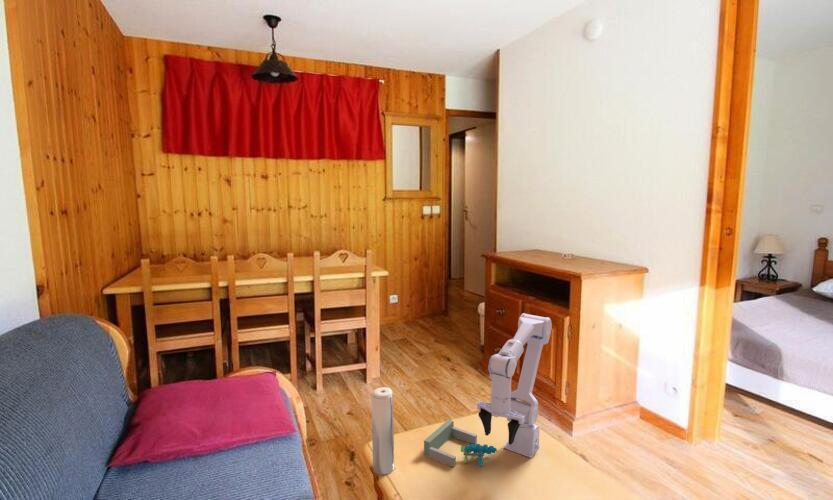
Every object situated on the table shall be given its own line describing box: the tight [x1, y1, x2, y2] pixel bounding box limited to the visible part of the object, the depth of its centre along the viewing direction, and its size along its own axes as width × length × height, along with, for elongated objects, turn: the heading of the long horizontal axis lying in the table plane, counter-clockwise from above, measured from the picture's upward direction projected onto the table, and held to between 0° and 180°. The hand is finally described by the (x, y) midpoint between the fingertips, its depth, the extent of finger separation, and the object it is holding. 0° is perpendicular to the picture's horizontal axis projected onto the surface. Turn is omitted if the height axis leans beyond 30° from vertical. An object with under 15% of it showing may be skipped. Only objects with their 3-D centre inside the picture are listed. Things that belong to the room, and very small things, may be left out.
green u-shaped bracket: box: [423, 419, 478, 468], centre depth 138 cm, size 11×15×5 cm
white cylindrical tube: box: [370, 386, 395, 476], centre depth 127 cm, size 6×6×25 cm
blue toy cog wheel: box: [460, 443, 498, 468], centre depth 131 cm, size 11×6×10 cm
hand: (499, 438), depth 126 cm, fingers open, 7 cm apart
